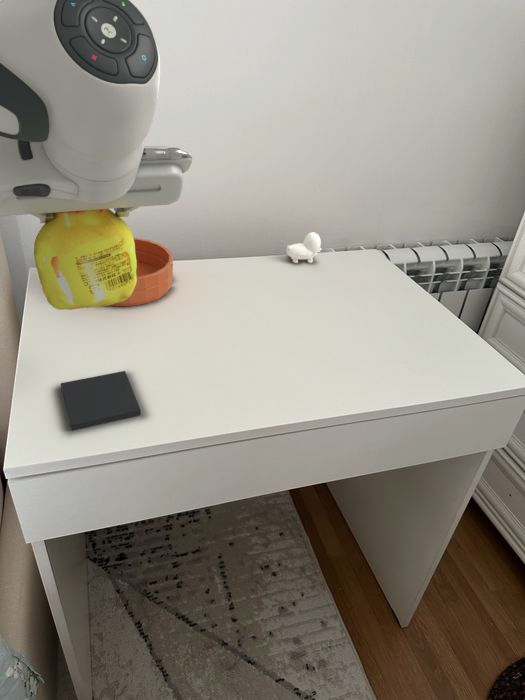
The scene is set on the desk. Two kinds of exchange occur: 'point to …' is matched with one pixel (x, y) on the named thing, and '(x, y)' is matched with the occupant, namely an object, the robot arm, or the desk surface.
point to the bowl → (150, 273)
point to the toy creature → (305, 248)
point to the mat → (99, 400)
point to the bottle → (85, 259)
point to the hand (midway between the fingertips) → (83, 214)
